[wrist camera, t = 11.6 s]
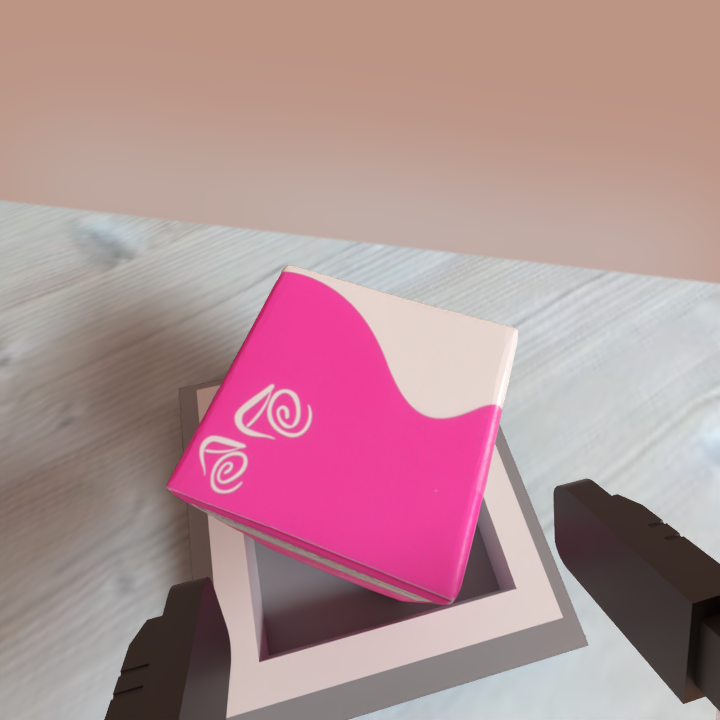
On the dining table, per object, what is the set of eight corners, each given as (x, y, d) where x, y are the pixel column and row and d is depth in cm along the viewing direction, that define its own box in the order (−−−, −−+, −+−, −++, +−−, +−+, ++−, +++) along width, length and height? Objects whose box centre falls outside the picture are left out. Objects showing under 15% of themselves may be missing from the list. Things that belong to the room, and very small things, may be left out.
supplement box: (318, 420, 21) (286, 250, 11) (444, 465, 20) (539, 326, 10) (263, 549, 18) (153, 488, 8) (404, 607, 17) (478, 617, 7)
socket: (213, 754, 16) (185, 785, 13) (185, 396, 22) (163, 369, 20) (576, 643, 18) (616, 650, 15) (457, 339, 24) (470, 307, 21)
